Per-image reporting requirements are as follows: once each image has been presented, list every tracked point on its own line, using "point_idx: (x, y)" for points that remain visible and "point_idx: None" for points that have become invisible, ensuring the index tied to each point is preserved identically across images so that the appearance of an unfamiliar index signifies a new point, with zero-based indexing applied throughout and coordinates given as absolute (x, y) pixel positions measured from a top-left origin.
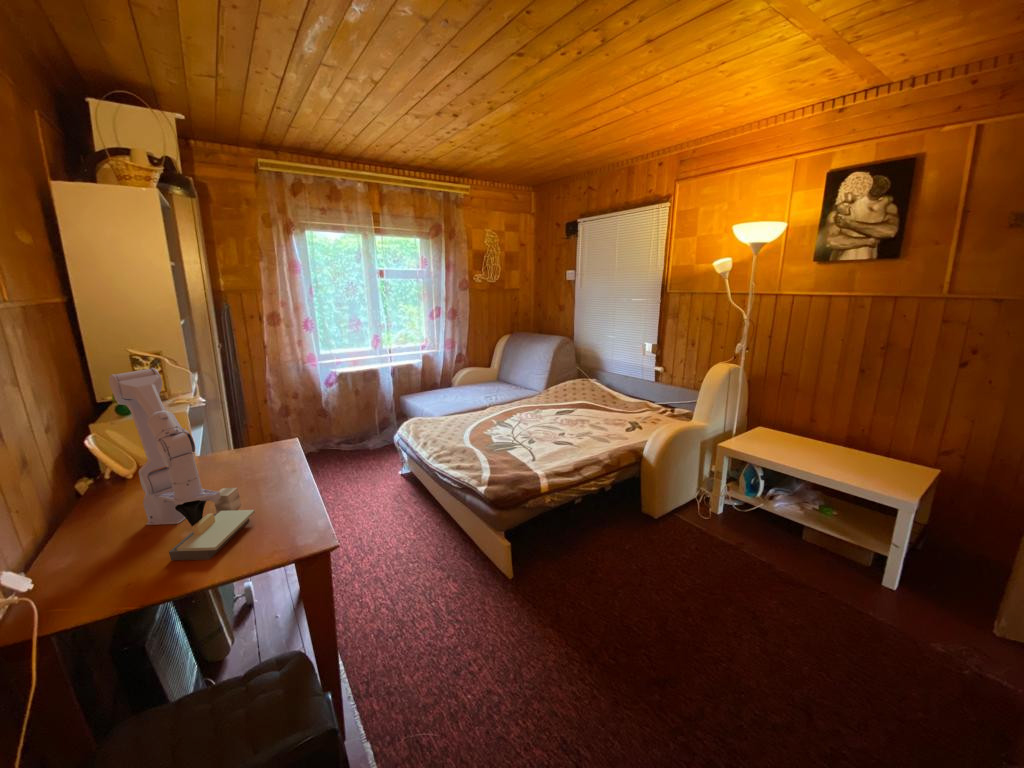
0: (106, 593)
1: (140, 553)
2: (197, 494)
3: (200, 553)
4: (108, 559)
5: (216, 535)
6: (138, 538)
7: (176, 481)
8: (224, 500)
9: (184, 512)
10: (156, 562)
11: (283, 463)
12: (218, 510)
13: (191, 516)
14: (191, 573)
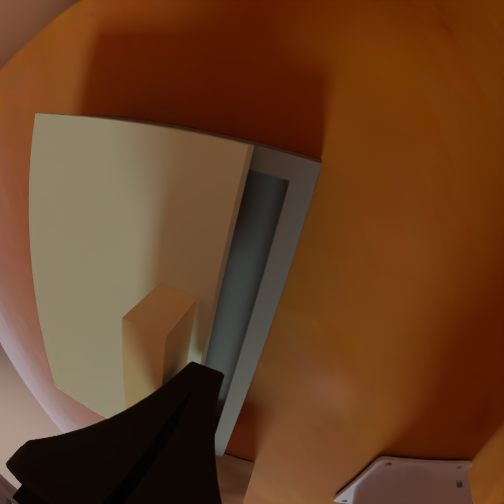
0: (499, 12)
1: (494, 304)
2: None
3: (124, 119)
4: None
5: (68, 235)
6: (497, 406)
7: None
8: None
9: (167, 481)
10: (406, 180)
11: None
12: (242, 472)
13: (145, 424)
14: (161, 26)
